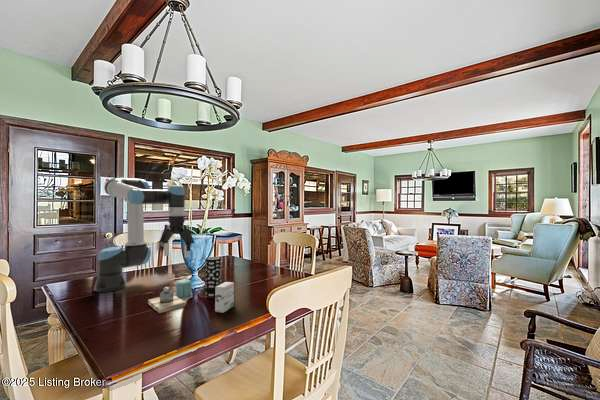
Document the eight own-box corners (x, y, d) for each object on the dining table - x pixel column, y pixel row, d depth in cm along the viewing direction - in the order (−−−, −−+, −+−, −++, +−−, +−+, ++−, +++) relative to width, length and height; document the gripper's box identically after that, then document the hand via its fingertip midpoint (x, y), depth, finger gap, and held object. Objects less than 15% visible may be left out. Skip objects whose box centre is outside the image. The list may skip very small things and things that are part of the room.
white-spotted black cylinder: (202, 295, 149) (202, 258, 149) (216, 291, 155) (216, 256, 155) (210, 299, 143) (210, 260, 143) (224, 295, 149) (224, 258, 149)
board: (147, 303, 136) (147, 299, 136) (172, 297, 145) (173, 294, 145) (159, 313, 125) (159, 308, 125) (185, 306, 133) (185, 302, 133)
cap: (173, 294, 150) (173, 281, 150) (187, 291, 155) (187, 279, 155) (179, 298, 144) (179, 284, 144) (193, 294, 150) (193, 281, 150)
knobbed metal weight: (157, 300, 135) (157, 287, 135) (170, 297, 139) (170, 285, 139) (162, 304, 131) (162, 290, 131) (175, 301, 135) (175, 287, 135)
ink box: (226, 305, 136) (226, 280, 136) (234, 306, 134) (234, 282, 134) (214, 311, 128) (214, 285, 128) (223, 313, 126) (223, 287, 126)
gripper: (152, 215, 144) (152, 256, 144) (190, 216, 135) (190, 259, 135) (163, 214, 151) (163, 253, 151) (201, 215, 142) (201, 256, 142)
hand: (176, 256), depth 143 cm, fingers open, 13 cm apart
